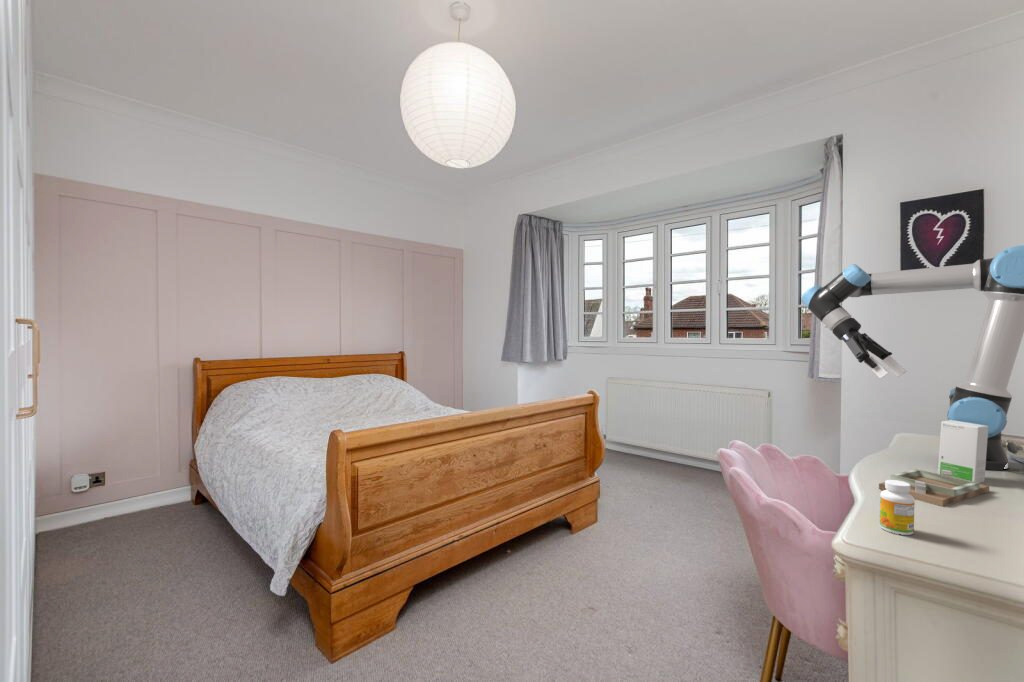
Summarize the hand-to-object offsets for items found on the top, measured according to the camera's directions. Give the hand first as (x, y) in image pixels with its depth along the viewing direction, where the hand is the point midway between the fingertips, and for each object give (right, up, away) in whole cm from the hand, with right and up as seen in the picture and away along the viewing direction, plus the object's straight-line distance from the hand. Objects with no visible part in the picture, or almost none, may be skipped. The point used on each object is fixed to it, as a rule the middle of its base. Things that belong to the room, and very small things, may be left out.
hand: (893, 375), depth 146 cm
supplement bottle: (-39, -28, -49) cm, 69 cm away
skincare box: (+7, -28, -15) cm, 32 cm away
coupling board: (-10, -28, -25) cm, 38 cm away
